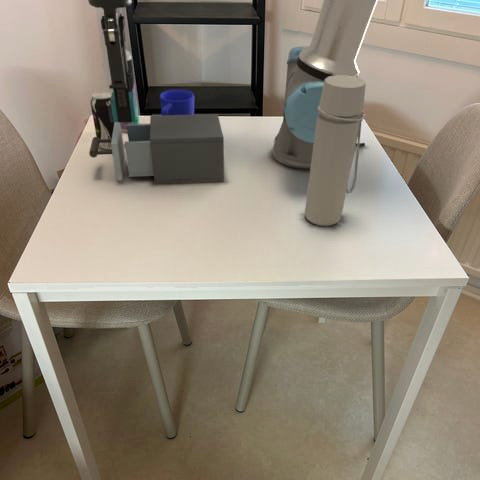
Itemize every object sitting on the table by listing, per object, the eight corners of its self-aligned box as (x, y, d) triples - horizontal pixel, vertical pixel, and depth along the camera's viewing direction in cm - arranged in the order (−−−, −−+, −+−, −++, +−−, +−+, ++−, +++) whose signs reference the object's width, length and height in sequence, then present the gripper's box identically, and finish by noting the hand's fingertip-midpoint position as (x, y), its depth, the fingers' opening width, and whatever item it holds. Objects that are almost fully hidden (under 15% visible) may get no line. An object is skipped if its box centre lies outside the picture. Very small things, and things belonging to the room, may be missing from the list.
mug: (151, 146, 116) (146, 103, 109) (171, 128, 125) (168, 87, 118) (182, 151, 114) (179, 108, 108) (200, 132, 123) (199, 91, 116)
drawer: (92, 181, 100) (85, 144, 95) (97, 157, 109) (90, 122, 103) (181, 178, 102) (179, 141, 97) (179, 154, 111) (177, 120, 105)
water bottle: (312, 231, 90) (333, 90, 73) (297, 210, 95) (313, 74, 78) (357, 225, 92) (387, 86, 75) (340, 204, 97) (364, 71, 80)
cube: (136, 114, 100) (134, 92, 97) (135, 122, 97) (133, 99, 94) (115, 114, 99) (111, 92, 96) (113, 122, 96) (110, 99, 93)
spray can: (128, 134, 121) (116, 45, 108) (114, 128, 124) (100, 41, 110) (144, 127, 124) (134, 41, 111) (129, 122, 127) (118, 37, 113)
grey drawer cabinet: (154, 184, 102) (149, 139, 95) (154, 158, 111) (150, 115, 105) (223, 181, 104) (223, 136, 97) (218, 156, 113) (217, 113, 106)
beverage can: (97, 142, 117) (88, 90, 109) (121, 140, 118) (113, 89, 110) (99, 152, 113) (89, 99, 105) (123, 150, 114) (116, 97, 106)
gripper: (89, -30, 88) (110, 102, 104) (78, -14, 75) (103, 134, 91) (131, -30, 89) (145, 101, 105) (127, -13, 76) (143, 133, 92)
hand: (125, 116), depth 98 cm, fingers closed on cube, 4 cm apart
